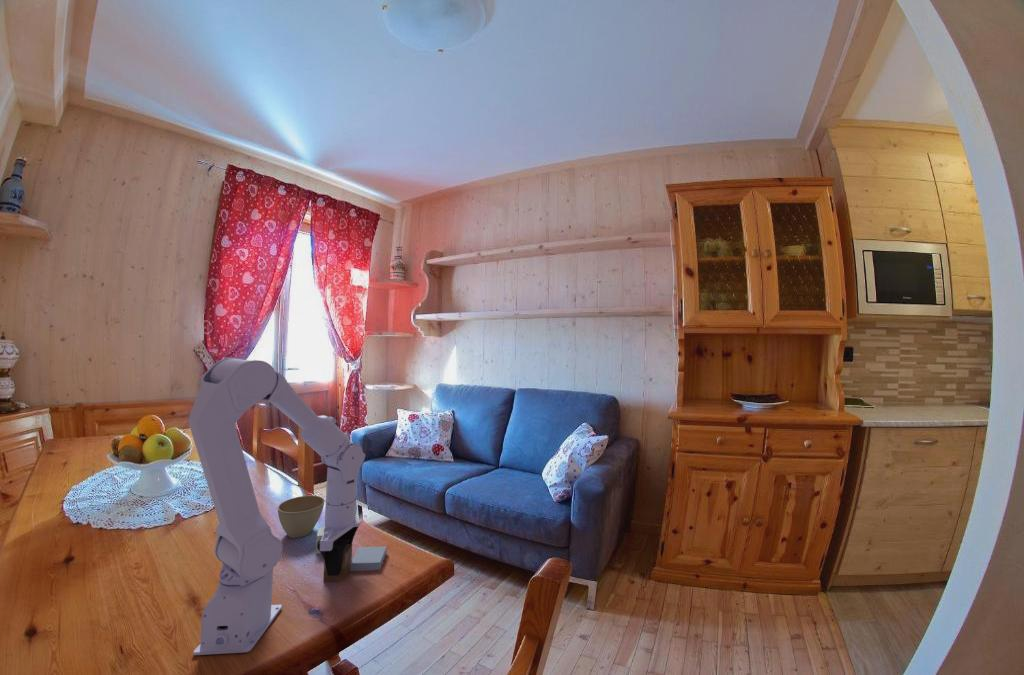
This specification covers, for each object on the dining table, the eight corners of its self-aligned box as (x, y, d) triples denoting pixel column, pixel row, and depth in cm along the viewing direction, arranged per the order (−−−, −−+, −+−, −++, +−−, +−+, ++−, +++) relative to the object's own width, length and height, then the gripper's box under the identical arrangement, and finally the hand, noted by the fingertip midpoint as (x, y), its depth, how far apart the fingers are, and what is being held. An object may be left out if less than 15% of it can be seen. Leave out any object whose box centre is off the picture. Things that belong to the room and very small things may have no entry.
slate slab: (379, 572, 74) (379, 562, 74) (349, 573, 74) (350, 563, 74) (386, 555, 80) (386, 546, 80) (358, 556, 80) (359, 547, 80)
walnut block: (344, 580, 71) (345, 555, 71) (323, 581, 70) (324, 555, 70) (351, 568, 75) (352, 544, 75) (331, 568, 74) (332, 544, 74)
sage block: (335, 551, 81) (336, 533, 81) (315, 554, 79) (316, 536, 79) (337, 542, 84) (338, 525, 84) (318, 545, 83) (319, 527, 83)
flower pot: (301, 546, 82) (303, 515, 82) (265, 540, 84) (267, 509, 84) (332, 525, 92) (333, 497, 92) (298, 520, 94) (300, 493, 94)
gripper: (349, 516, 66) (345, 590, 66) (371, 485, 81) (368, 546, 80) (309, 516, 65) (305, 592, 65) (339, 486, 80) (336, 547, 79)
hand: (338, 567), depth 72 cm, fingers open, 4 cm apart
